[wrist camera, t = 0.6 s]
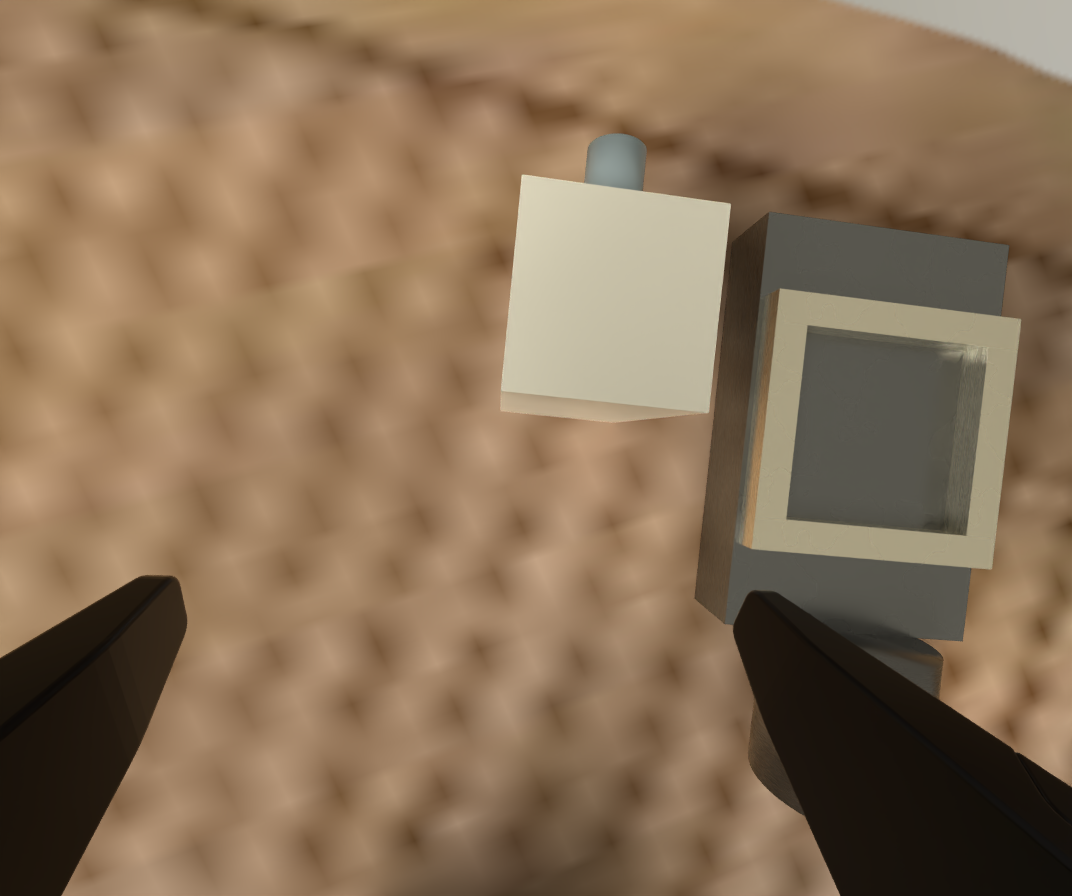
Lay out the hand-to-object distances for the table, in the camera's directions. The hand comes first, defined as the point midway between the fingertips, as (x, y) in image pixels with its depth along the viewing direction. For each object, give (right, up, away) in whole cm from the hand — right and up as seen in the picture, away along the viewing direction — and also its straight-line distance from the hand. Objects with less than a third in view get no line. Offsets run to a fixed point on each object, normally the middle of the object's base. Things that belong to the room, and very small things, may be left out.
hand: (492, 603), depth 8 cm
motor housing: (+13, 0, +15) cm, 20 cm away
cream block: (+2, +7, +14) cm, 16 cm away
